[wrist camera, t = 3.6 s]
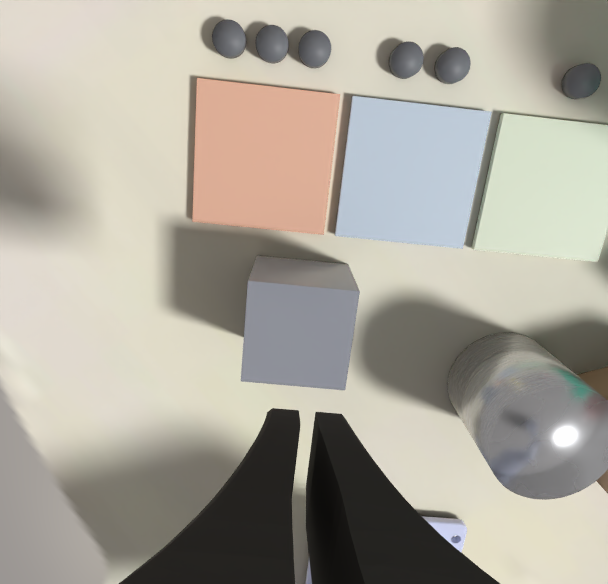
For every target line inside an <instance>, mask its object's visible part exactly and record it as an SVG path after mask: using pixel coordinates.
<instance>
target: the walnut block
mask: <svg viewBox="0 0 608 584" xmlns="http://www.w3.org/2000/svg"><path fill="white" fill-rule="evenodd" d="M577 376H579V377H580V378H581V379H582V380H584V381H585V382H586V383H587V384H588V385H590V386H591V387H592V388H593V389H594V390H596V391H597V392H598V393H599V394H601V395H602V396H603V397H604V398H605V399H607V400H608V367H605V368H601V369H597V370H593V371H589V372H586V373H582V374H578V375H577ZM596 481H597V482H598V483H599V484H600V485H601V486H602V488H603V489H604V490H605V491H606V492H607V493H608V470H607V471H606V472H605V473H604V474H603V475H602V476H601V477H600V478H599V479H598V480H596Z"/></svg>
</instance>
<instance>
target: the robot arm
mask: <svg viewBox="0 0 608 584" xmlns="http://www.w3.org/2000/svg"><path fill="white" fill-rule="evenodd" d="M299 432H300V417H299V411H298V410H286V409H274V408H273V409H271V410H270V411H269V412H267V416H266V419H265V422H264V424H263V426H262V428H261V431H260V432H259V434H258V436H257V438H256V440H255V441H254V443H253V445H252V446H251V448H250V449H249V451H248V453H247V454H246V456H245V457H244V459H243V460H242V462H241V463H240V465H239V466H238V467H237V469H236V470H235V471H234V473H233V474H232V475H231V477H230V478H229V480H228V481H227V482H226V484H225V485H224V486H223V487H222V489H221V490H220V491H219V492H218V493H217V495H216V496H215V497H214V498H213V499H212V500H211V501H210V503H209V504H208V505H207V506H206V507H205V508H204V509H203V510H202V511H201V512H200V513H199V515H198V516H197V517H196V518H195V519H194V520H193V521H192V522H190V523H189V524H188V525H187V526H186V527H185V528H184V529H183V530H182V531H181V532H180V533H179V534H178V535H177V536H176V537H175V538H174V539H173V540H172V541H171V542H169V543H168V544H167V545H166V546H165V547H164V548H163V549H162V550H160V551H159V552H158V553H157V554H155V555H154V556H153V557H152V558H151V559H149V560H148V561H147V562H146V563H144V564H143V565H142V566H141V567H139V568H138V569H137V570H136V571H134V572H133V573H132V574H131V575H129V576H128V577H127V578H126V579H124V580H123V581H122V582H120V583H119V584H295V576H294V559H293V533H292V491H293V483H294V474H295V466H296V457H297V449H298V441H299ZM306 531H307V541H308V551H309V560H308V567H307V575H306V582H305V584H500V583H499V582H497V581H496V580H495V579H493V578H492V577H491V576H489V575H488V574H487V573H485V572H484V571H483V570H482V569H480V568H479V567H478V566H477V565H475V564H474V563H473V562H472V561H471V560H469V559H468V558H467V557H466V556H465V555H463V554H462V553H461V552H462V549H463V545H464V541H465V537H466V533H467V528H466V525H465V523H464V522H463V521H462V520H460V519H452V518H438V517H424V516H421V515H420V514H419V513H418V512H417V511H416V510H415V509H414V508H413V507H412V506H411V505H410V504H409V503H408V502H407V501H406V500H405V499H404V497H403V496H402V495H401V494H400V493H399V492H398V490H397V489H396V488H395V487H394V486H393V485H392V483H391V482H390V481H389V480H388V478H387V477H386V476H385V475H384V473H383V472H382V471H381V469H380V468H379V467H378V465H377V464H376V463H375V461H374V460H373V459H372V458H371V456H370V455H369V453H368V452H367V451H366V449H365V448H364V446H363V445H362V443H361V442H360V440H359V439H358V438H357V436H356V435H355V433H354V431H353V430H352V428H351V427H350V425H349V424H348V422H347V421H346V419H345V418H344V417H343V415H342V414H335V413H323V412H316V413H315V421H314V429H313V436H312V444H311V452H310V459H309V467H308V475H307V483H306ZM455 535H457V536H456V537H453V536H455Z"/></svg>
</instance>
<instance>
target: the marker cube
mask: <svg viewBox="0 0 608 584" xmlns="http://www.w3.org/2000/svg"><path fill="white" fill-rule="evenodd" d="M359 293H360V291H359V289H358V286H357V284H356V282H355V279H354V277H353V274H352V272H351V270H350V267H349V265H348V264H341V263H331V262H321V261H310V260H300V259H290V258H280V257H269V256H259V255H257V257H256V259H255V262H254V265H253V268H252V271H251V273H250V276H249V279H248V286H247V300H246V315H245V329H244V343H243V357H242V371H241V381H244V382H255V383H267V384H278V385H290V386H302V387H313V388H325V389H337V390H345V387H346V380H347V374H348V367H349V360H350V353H351V347H352V340H353V333H354V326H355V320H356V313H357V306H358V299H359Z"/></svg>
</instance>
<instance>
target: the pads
mask: <svg viewBox="0 0 608 584" xmlns="http://www.w3.org/2000/svg"><path fill="white" fill-rule="evenodd" d="M212 40H213V44H214V46H215V48H216V49H217V51H218V52H219V53H220V54H221V55H222V56H224V57H226V58H236V57H238V56H240V55H241V54H242V53H243V52H244V50H245V47H246V36H245V33H244V31H243V29H242V27H241V26H240V25H239V24H238V23H237V22H235V21H233V20H223V21H221V22H219V23H218V24H217V25H216V26H215V28H214V30H213V34H212ZM256 48H257V51H258V53H259V55H260V57H261V58H262V59H263V60H264V61H266V62H268V63H278V62H280V61H282V60H283V59H284V58H285V56H286V55H287V52H288V38H287V35H286V33H285V32H284V31H283V30H282V29H281V28H280V27H278V26H276V25H268V26H265V27H263V28H262V29H261V30H260V31H259V33H258V34H257V37H256ZM330 53H331V43H330V40H329V38H328V37H327V36H326V35H325V34H324V33H323V32H321V31H318V30H312V31H309V32H307V33H306V34H305V35H304V36H303V37H302V38H301V40H300V43H299V56H300V59H301V61H302V62H303V63H304V64H305V65H306V66H308V67H310V68H319V67H321V66H323V65H324V64H325V63H326V62H327V60H328V58H329V56H330ZM423 59H424V57H423V52H422V50H421V48H420V47H419V46H418V45H417V44H416V43H414V42H404V43H401V44H400V45H398V46H397V47H396V48H395V49H394V50H393V52H392V53H391V55H390V59H389V67H390V70H391V72H392V73H393V74H394V75H395V76H396V77H398V78H401V79H406V78H409V77H411V76H413V75H415V74H416V73H417V72H418V71H419V70H420V69H421V67H422V64H423ZM469 69H470V57H469V55H468V53H467V52H466V51H465V50H463V49H462V48H458V47H454V48H450V49H448V50H447V51H445V52H443V53H442V54H441V55H440V56H439V57H438V59H437V61H436V64H435V73H436V76H437V78H438V79H439V80H440V81H441V82H443V83H445V84H453V83H455V82H458V81H460V80H462V79H463V78H464V77H465V76H466V75H467V74H468V72H469ZM600 81H601V74H600V71H599V69H598V68H597V67H596V66H595V65H593V64H590V63H586V64H582V65H578V66H575V67H573V68H571V69H570V70H569V71H568V72H567V73H566V74H565V76H564V78H563V81H562V89H563V92H564V93H565V95H566V96H568V97H569V98H572V99H578V98H584V97H588V96H590V95H592V94H593V93H594V92H595V91H596V90H597V88H598V87H599V84H600ZM339 100H340V94H332V93H323V92H315V91H306V90H297V89H289V88H280V87H271V86H262V85H254V84H245V83H236V82H228V81H219V80H210V79H202V78H197V93H196V125H195V157H194V189H193V220H192V222H201V223H211V224H221V225H231V226H241V227H251V228H261V229H271V230H281V231H291V232H301V233H311V234H321V235H324V227H325V219H326V210H327V202H328V193H329V185H330V176H331V168H332V159H333V151H334V143H335V134H336V126H337V117H338V109H339ZM490 117H491V112H489V111H480V110H471V109H463V108H454V107H445V106H436V105H428V104H419V103H410V102H402V101H393V100H384V99H376V98H367V97H358V96H352V101H351V109H350V117H349V125H348V133H347V141H346V149H345V157H344V165H343V173H342V181H341V189H340V197H339V205H338V213H337V221H336V229H335V236H341V237H351V238H361V239H371V240H381V241H391V242H401V243H411V244H422V245H432V246H442V247H452V248H462V249H463V245H464V240H465V235H466V231H467V226H468V221H469V216H470V212H471V207H472V202H473V197H474V193H475V188H476V183H477V178H478V174H479V169H480V164H481V159H482V155H483V150H484V145H485V141H486V136H487V131H488V126H489V122H490ZM607 230H608V125H602V124H593V123H584V122H576V121H567V120H558V119H550V118H541V117H532V116H523V115H515V114H506V113H502V114H501V115H500V119H499V124H498V129H497V133H496V138H495V142H494V147H493V152H492V156H491V161H490V166H489V170H488V175H487V179H486V184H485V189H484V193H483V198H482V202H481V207H480V212H479V216H478V221H477V225H476V230H475V235H474V239H473V244H472V249H474V250H482V251H492V252H502V253H512V254H522V255H532V256H542V257H552V258H562V259H572V260H582V261H592V262H598V259H599V256H600V253H601V250H602V246H603V243H604V240H605V236H606V233H607Z"/></svg>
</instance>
